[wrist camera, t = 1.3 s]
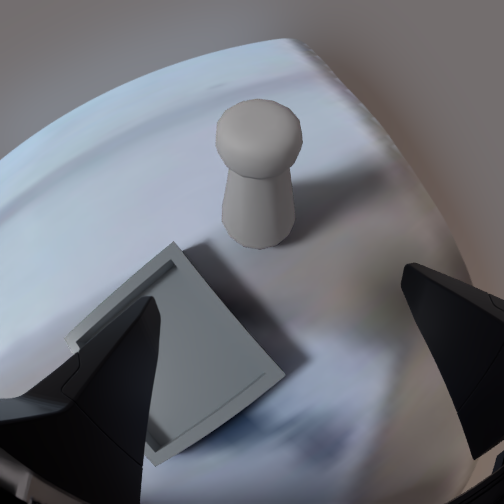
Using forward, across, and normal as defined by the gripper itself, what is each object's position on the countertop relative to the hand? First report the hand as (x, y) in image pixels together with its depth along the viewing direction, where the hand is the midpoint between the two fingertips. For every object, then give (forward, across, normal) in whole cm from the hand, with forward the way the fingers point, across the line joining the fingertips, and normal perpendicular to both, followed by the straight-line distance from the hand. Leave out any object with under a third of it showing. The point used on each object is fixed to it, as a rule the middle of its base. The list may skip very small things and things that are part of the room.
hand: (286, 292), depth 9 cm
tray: (+8, +8, +11) cm, 16 cm away
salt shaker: (+15, 0, +4) cm, 16 cm away
